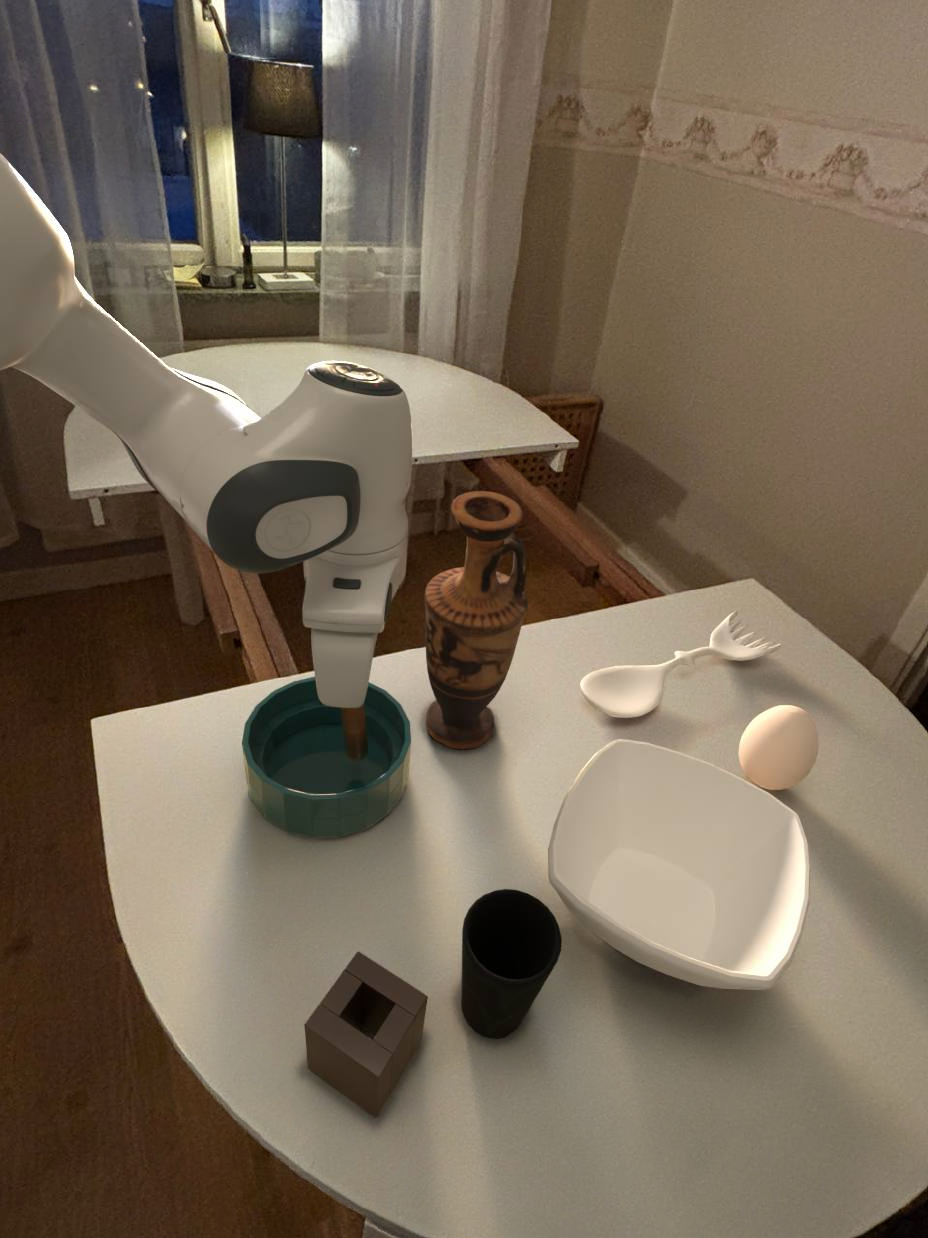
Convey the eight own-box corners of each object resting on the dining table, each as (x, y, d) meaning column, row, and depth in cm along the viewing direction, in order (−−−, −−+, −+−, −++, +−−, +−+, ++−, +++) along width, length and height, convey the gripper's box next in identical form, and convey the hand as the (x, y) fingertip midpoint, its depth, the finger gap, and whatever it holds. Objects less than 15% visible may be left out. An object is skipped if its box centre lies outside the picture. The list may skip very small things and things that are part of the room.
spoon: (777, 661, 105) (786, 643, 103) (608, 738, 90) (615, 718, 88) (729, 625, 111) (737, 607, 109) (563, 691, 96) (568, 672, 94)
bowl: (743, 1084, 61) (796, 1022, 54) (501, 954, 67) (519, 883, 60) (779, 876, 77) (824, 807, 70) (581, 787, 84) (603, 716, 76)
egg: (767, 818, 83) (806, 750, 76) (713, 769, 88) (745, 701, 81) (809, 790, 87) (850, 723, 80) (755, 744, 92) (789, 678, 85)
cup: (488, 1073, 60) (508, 1006, 52) (431, 996, 64) (442, 924, 56) (555, 1013, 64) (582, 943, 56) (497, 945, 68) (515, 871, 61)
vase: (412, 755, 85) (430, 534, 66) (416, 689, 93) (433, 476, 75) (505, 761, 86) (550, 543, 67) (501, 695, 94) (539, 486, 75)
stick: (360, 769, 79) (347, 637, 67) (341, 760, 80) (326, 628, 68) (373, 754, 80) (362, 623, 69) (355, 745, 81) (342, 615, 70)
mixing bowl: (345, 871, 72) (344, 828, 68) (213, 791, 78) (205, 747, 74) (435, 759, 85) (440, 717, 80) (316, 698, 90) (315, 655, 86)
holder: (375, 1119, 56) (378, 1078, 51) (307, 1068, 59) (303, 1024, 54) (421, 1040, 61) (428, 996, 56) (356, 996, 63) (357, 950, 58)
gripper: (335, 491, 71) (336, 604, 80) (297, 625, 55) (304, 748, 64) (400, 497, 72) (394, 609, 80) (381, 631, 56) (377, 753, 64)
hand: (354, 672), depth 72 cm, fingers closed on stick, 2 cm apart
